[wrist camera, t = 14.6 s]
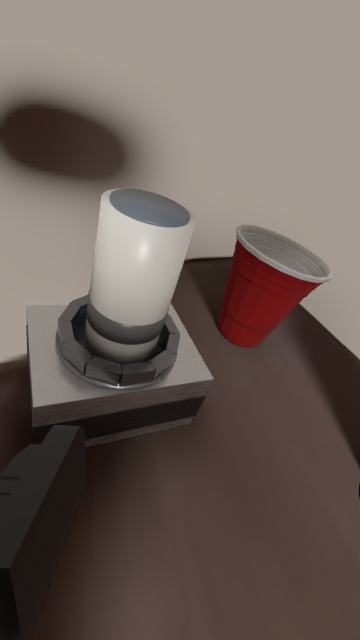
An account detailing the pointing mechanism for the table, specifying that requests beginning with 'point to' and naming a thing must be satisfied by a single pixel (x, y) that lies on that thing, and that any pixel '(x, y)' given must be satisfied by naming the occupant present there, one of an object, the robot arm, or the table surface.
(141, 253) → the lens barrel
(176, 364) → the banded square pedestal
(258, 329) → the plastic cup
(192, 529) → the table surface
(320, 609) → the table surface
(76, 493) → the robot arm
